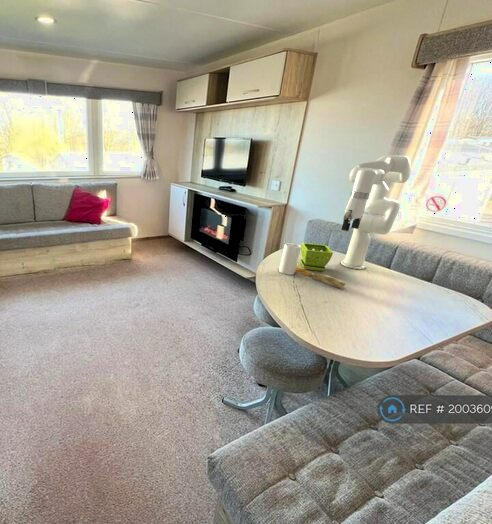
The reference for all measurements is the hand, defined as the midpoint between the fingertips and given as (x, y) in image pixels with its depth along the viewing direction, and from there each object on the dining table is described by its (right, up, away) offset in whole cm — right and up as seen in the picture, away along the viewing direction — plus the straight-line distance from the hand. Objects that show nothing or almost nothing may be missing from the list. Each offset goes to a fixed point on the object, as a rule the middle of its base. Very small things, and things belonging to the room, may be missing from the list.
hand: (349, 229), depth 158 cm
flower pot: (-5, -20, +26) cm, 33 cm away
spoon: (-7, -28, +6) cm, 29 cm away
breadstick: (-15, -23, +17) cm, 33 cm away
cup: (-24, -22, +18) cm, 37 cm away
